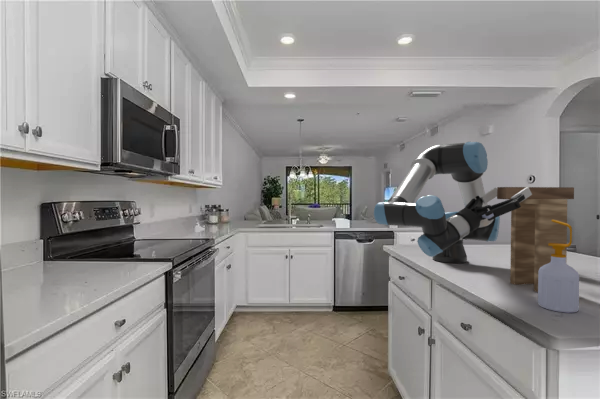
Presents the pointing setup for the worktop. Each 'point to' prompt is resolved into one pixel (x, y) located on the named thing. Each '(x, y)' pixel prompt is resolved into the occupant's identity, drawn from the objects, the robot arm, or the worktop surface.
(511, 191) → the walnut rail
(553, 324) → the worktop surface
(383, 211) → the robot arm
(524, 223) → the bridge
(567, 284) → the soap bottle
